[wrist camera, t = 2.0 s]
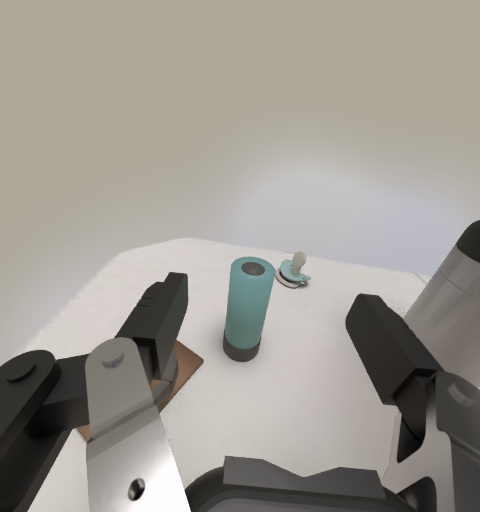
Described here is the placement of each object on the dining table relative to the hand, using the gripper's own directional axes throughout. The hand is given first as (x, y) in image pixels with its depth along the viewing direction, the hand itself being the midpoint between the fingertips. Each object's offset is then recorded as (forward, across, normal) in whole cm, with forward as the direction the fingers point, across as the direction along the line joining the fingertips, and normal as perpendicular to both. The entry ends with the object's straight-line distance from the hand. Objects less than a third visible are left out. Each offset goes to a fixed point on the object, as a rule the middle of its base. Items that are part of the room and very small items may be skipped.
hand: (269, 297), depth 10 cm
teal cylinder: (+12, 0, +19) cm, 22 cm away
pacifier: (+29, -10, +19) cm, 36 cm away
